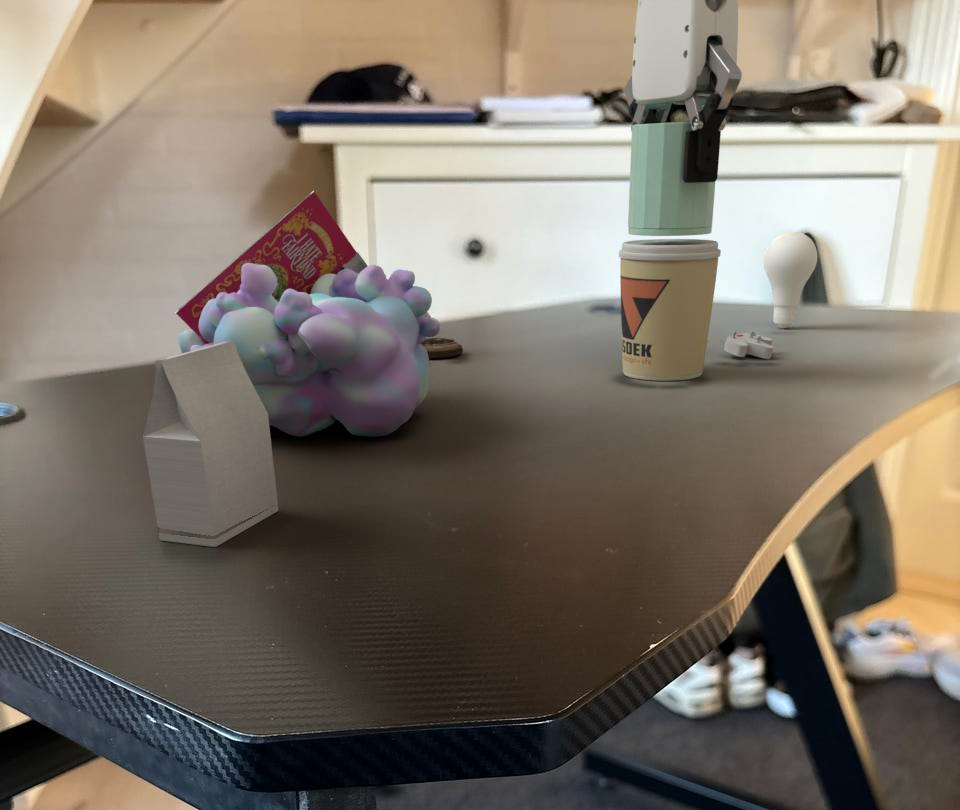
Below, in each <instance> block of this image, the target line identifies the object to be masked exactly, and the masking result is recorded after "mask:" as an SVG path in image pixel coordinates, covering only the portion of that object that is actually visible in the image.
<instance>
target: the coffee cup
mask: <svg viewBox="0 0 960 810" xmlns="http://www.w3.org/2000/svg"><path fill="white" fill-rule="evenodd" d="M721 251H722V250H721V249H720V248H719V242H718V241H716V240H713V239H712V240H711V239H700V238H699V239H698V238H697V239H695V238H657V239H656V238H655V239H635V240H628V241H627V240H626V241H624V242H622V244H621V249H620V250H619V251H618V257H619V258H620V261H619V264H620V265H619V267H620V268H619V269H620V270H619V271H620V273H619V274H620V277H619V278H620V321H621V322H620V324H621V327H620V328H621V358H622V359H621V360H622V373H623V375H624V376H626V377H628V378H632V379H636V380H643V381H653V382H655V381H656V382H673V381H674V382H676V381H686V380H692V379H697V378H699V377H701V376H702V375H703V371H704V366H705V360H706V353H707V347H708V346H707V345H708V341H709V340H708V339H709V332H710V324H711V319H712V311H713V305H714V297H715V289H716V282H717V281H716V280H717V272H718V266H719V257H721V254H722V252H721Z"/></svg>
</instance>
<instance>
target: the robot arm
mask: <svg viewBox="0 0 960 810" xmlns="http://www.w3.org/2000/svg"><path fill="white" fill-rule="evenodd" d="M634 27H635V28H634V38H633V39H634V40H633V51H632V67H631V68H632V69H631V76H630V77H629V79H628V81H627V83H626V84H625V87H624V93H625V98H626V102H627V104H628V114H629V118H630V120H631V125H630V131H631V132H632V125H637V124H653V123H667V119H668V116H669V113H670V110H671V107H672V105H673V104H674V105H676V106H677V105H679V106H683V105H685V108H686V113H687V117H688V120H689V122H690V125H691V128H692V130H693V131H686V137H685V153H684V169H683V180H684V182H685V183H699V182H715V183H716V181H717V180H718V174H719V161H720V149H721V135H722V131H723V130H724V129H725V128H726V124H727V119H726V117H727V115H728V113H729V111H730V110H731V108H732V106H733V101H734V99H733V98H734V97H735V94H736V91H737V90H738V88H739V85H740V83H741V80H742V73H743V72H742V71H741V69H740V67H739V66H738V65H737V64H738V63H737V62H738V40H739V38H738V37H739V32H738V31H739V2H738V0H638V2H637V10H636V19H635V26H634ZM701 106H703V107H701ZM653 110H656V111H655V114H654V112H653Z"/></svg>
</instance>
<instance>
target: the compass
mask: <svg viewBox="0 0 960 810" xmlns="http://www.w3.org/2000/svg"><path fill="white" fill-rule="evenodd" d="M420 344H421V345H422V346H423V347H424V348H425V350H426V351H427V354H428V357H429V359H445V358H453V357H457V356H459V355H461V354H462V353H463V352H464V348H463V345H462V344H460V343H459V342H458V341H457V340H456V339H453V338H447V337H426V338H425V340H424V341H423V342H422V343H420Z"/></svg>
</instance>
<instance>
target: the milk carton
mask: <svg viewBox="0 0 960 810" xmlns="http://www.w3.org/2000/svg"><path fill="white" fill-rule="evenodd" d="M142 440H143V446H144V452H145V459H146V464H147V465H146V466H147V471H148V476H149V483H150V490H151V495H152V502H153V508H154V514H155V519H156V526H157V528H158V527H159V528H162V529H163V528H164V529H170V530H175V531H183V532H188V533H189V532H190V533H193V534H195V533H196V534H201V535H207V536H208V535H210V536H215V535H217V534H219V533H220V532H222V531H225V530H226V529H228V528H230V527H232V526H234V525H235V524H238V523H239V522H241V521H244V520H246V519H248V518H250V517H252V516H254V515H257V514H259V513H260V512H262V513H260V514H259V515H257V516H255V517H253V518H252V519H250V520H248V521H246V522H245V523H243V524H241V525H239V526H237V527H236V528H234V529H232V530H230V531H229V532H227V533H225V534H223V535H221V536H220V537H218V538H216V539H205V538H197V537H188V536H180V535H171V534H163V533H158V538H159V541H163V542H171V543H177V544H186V545H187V544H188V545H194V546H202V547H203V546H205V547H212V548H216V547H218V546H220V545H222V544H223V543H225V542H227V541H229V540H231V539H232V538H234V537H236V536H238V535H239V534H241V533H242V532H244V531H246V530H248V529H249V528H251V527H253V526H255V525H256V524H258V523H260V522H261V521H263V520H266V519H267V518H269V517H271V516H272V515H273V514H275V513H277V512H279V503H278V493H277V485H276V484H277V483H276V475H275V465H274V456H273V448H272V447H273V446H272V438H271V429H270V425H269V418H268V413H267V411H266V409H265V407H264V405H263V403H262V401H261V399H260V398H259V396H258V394H257V392H256V390H255V388H254V386H253V384H252V382H251V380H250V378H249V377H248V375H247V373H246V370H245V368H244V366H243V364H242V362H241V359H240V357H239V355H238V352H237V349H236V345H235V342H234V341H230V342H229V341H225V342H222V343H218V344H214V345H211V346H207V347H203V348H200V349H196V350H193V351H189V352H185V353H182V352H181V353H178V354H175V355H171V356H168V357H167V356H166V357H165V358H161V359H157V360H155V377H154V383H153V390H152V397H151V401H150V404H149V409H148V413H147V417H146V422H145V426H144V430H143V435H142ZM274 505H275V506H274ZM272 506H273V507H272ZM267 509H268V510H267ZM265 510H266V511H265ZM263 511H264V512H263Z"/></svg>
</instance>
